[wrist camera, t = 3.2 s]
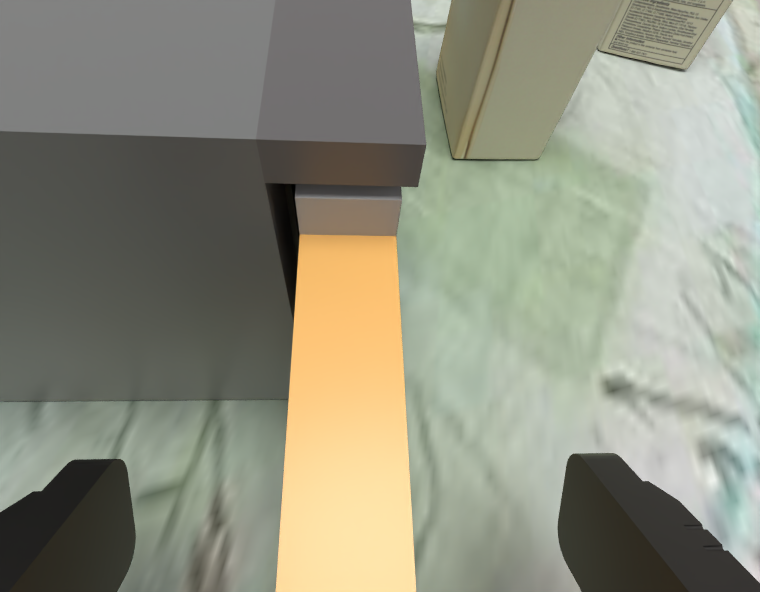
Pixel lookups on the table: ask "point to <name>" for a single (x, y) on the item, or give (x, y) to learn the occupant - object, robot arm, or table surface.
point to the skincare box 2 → (662, 29)
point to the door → (346, 401)
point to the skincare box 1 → (514, 71)
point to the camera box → (181, 182)
